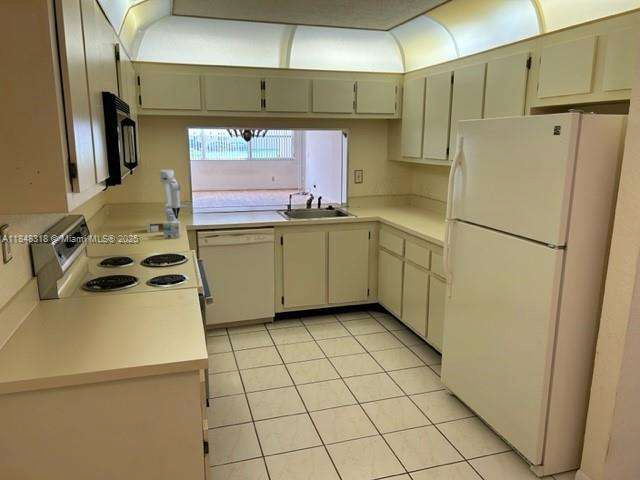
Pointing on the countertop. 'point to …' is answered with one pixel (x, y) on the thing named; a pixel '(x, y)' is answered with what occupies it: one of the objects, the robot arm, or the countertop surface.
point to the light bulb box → (171, 229)
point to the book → (154, 229)
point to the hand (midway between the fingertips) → (176, 218)
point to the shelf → (160, 227)
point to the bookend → (148, 226)
